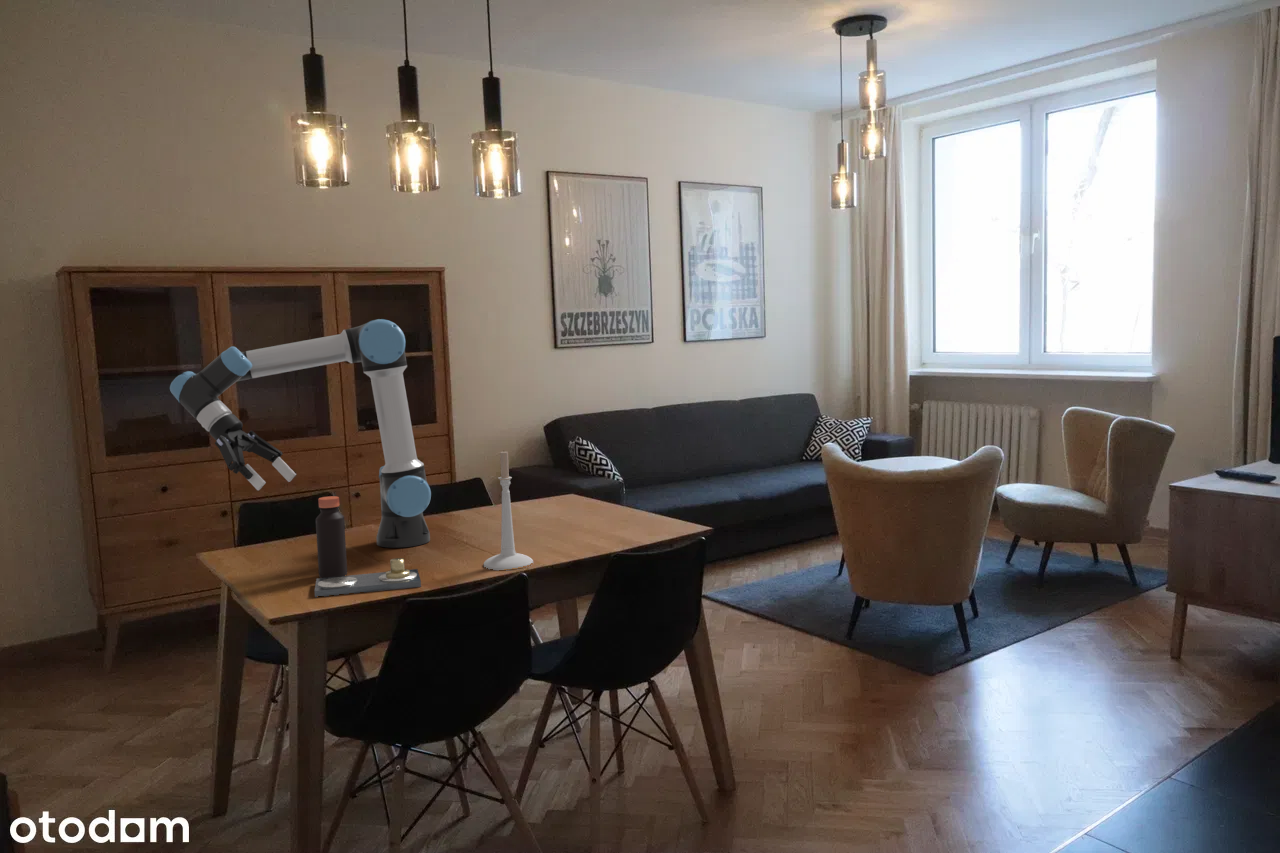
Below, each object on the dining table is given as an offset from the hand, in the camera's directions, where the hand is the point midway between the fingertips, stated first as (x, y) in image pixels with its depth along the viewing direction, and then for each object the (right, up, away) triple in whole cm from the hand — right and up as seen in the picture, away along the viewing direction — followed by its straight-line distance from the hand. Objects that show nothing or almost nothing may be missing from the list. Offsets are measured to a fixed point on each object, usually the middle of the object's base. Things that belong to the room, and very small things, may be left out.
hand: (277, 482), depth 234 cm
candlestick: (+57, -22, +8) cm, 62 cm away
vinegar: (+14, -24, 0) cm, 28 cm away
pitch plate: (+26, -24, -10) cm, 37 cm away
